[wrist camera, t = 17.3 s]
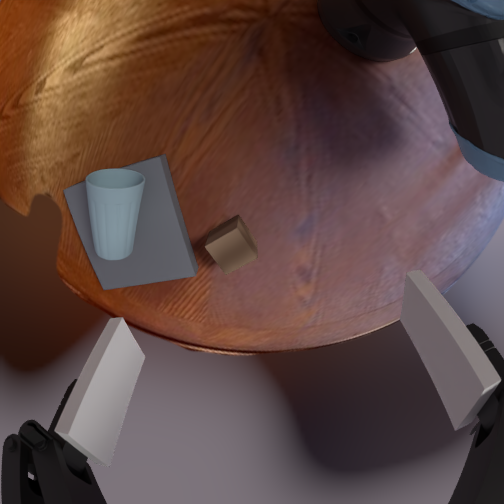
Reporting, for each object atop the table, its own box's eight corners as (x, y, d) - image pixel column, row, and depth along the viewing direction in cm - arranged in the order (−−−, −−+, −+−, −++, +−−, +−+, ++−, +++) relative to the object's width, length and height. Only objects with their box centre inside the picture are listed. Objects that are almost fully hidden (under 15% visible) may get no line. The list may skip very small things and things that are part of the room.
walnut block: (209, 231, 42) (204, 246, 37) (238, 214, 40) (236, 228, 36) (228, 257, 43) (225, 274, 39) (257, 241, 42) (257, 258, 38)
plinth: (71, 185, 38) (63, 190, 35) (165, 153, 36) (159, 156, 34) (109, 282, 46) (103, 290, 44) (198, 267, 44) (195, 276, 42)
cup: (94, 233, 38) (94, 166, 33) (142, 237, 41) (148, 170, 35) (82, 262, 32) (78, 186, 27) (137, 267, 34) (142, 190, 29)
